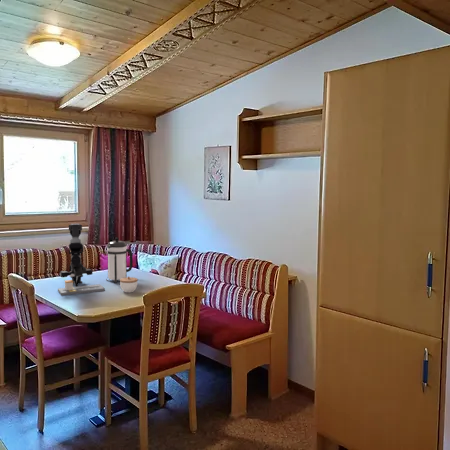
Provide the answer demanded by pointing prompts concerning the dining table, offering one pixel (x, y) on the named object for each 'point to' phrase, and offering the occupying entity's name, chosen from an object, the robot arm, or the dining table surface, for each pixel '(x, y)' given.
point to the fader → (68, 284)
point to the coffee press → (118, 260)
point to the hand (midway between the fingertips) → (76, 286)
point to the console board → (81, 289)
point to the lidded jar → (128, 284)
